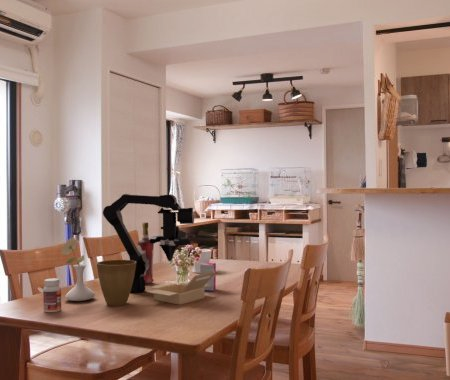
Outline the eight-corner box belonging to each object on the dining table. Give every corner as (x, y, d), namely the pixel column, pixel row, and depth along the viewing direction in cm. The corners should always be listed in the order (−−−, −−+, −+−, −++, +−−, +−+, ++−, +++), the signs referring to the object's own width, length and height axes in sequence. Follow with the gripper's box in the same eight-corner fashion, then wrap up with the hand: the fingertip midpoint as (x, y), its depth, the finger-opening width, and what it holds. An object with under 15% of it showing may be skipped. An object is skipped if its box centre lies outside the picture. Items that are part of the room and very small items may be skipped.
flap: (181, 291, 194) (194, 275, 190) (202, 285, 203) (215, 271, 199) (182, 292, 194) (195, 277, 189) (203, 287, 203) (216, 272, 199)
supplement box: (213, 291, 216) (212, 264, 216) (199, 291, 217) (199, 264, 217) (216, 289, 222) (215, 262, 222) (202, 288, 223) (202, 262, 223)
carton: (136, 300, 201) (135, 289, 201) (178, 290, 220) (178, 280, 220) (171, 307, 189) (170, 295, 189) (212, 295, 208) (212, 285, 208)
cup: (190, 269, 273) (190, 248, 273) (213, 269, 272) (213, 249, 272) (185, 273, 261) (185, 251, 261) (209, 273, 259) (209, 252, 259)
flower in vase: (86, 295, 211) (85, 234, 211) (100, 299, 203) (99, 236, 203) (56, 300, 202) (55, 237, 202) (70, 305, 194) (69, 239, 194)
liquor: (135, 283, 237) (134, 222, 236) (149, 281, 241) (148, 221, 241) (142, 285, 231) (141, 223, 231) (157, 283, 235) (156, 222, 235)
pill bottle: (60, 312, 184) (60, 280, 184) (42, 313, 183) (42, 281, 183) (62, 308, 190) (61, 277, 190) (44, 309, 189) (44, 278, 189)
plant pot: (125, 309, 187) (124, 265, 187) (89, 307, 191) (88, 264, 191) (143, 300, 201) (143, 259, 201) (109, 298, 205) (109, 258, 205)
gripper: (198, 223, 218) (199, 260, 218) (167, 222, 229) (167, 257, 229) (180, 225, 209) (181, 263, 209) (148, 223, 220) (149, 260, 220)
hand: (170, 260), depth 217 cm, fingers closed
